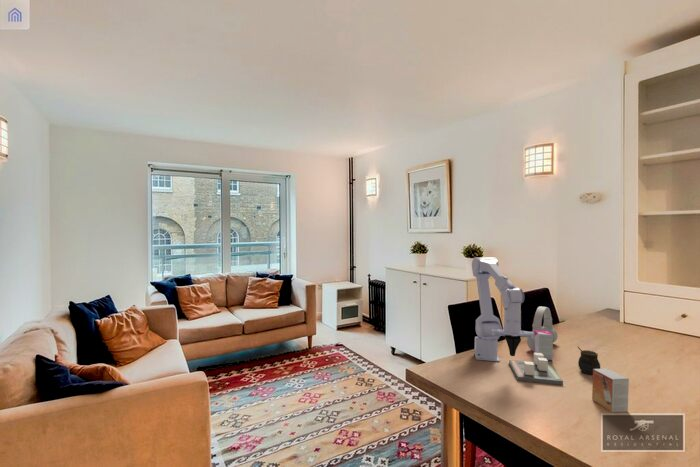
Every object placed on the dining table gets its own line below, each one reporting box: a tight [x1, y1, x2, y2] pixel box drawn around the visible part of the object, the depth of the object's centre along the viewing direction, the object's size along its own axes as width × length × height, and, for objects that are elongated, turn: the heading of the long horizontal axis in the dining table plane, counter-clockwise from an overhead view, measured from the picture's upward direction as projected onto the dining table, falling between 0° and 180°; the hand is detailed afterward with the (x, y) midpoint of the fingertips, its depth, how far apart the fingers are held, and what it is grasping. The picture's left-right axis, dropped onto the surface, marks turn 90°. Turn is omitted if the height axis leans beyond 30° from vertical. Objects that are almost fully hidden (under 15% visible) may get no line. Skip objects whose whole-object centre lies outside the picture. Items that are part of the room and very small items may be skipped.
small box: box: [591, 368, 630, 413], centre depth 111 cm, size 8×6×10 cm
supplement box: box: [533, 330, 554, 362], centre depth 151 cm, size 6×6×12 cm
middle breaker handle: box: [537, 358, 549, 371], centre depth 135 cm, size 3×3×4 cm
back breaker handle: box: [533, 352, 544, 365], centre depth 141 cm, size 3×3×4 cm
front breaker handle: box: [523, 360, 534, 375], centre depth 131 cm, size 3×3×4 cm
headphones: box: [526, 305, 559, 352], centre depth 165 cm, size 20×8×19 cm, turn 136°
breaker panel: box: [508, 359, 564, 386], centre depth 136 cm, size 15×17×2 cm
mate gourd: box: [577, 346, 601, 376], centre depth 137 cm, size 7×8×10 cm
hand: (512, 355), depth 133 cm, fingers closed
